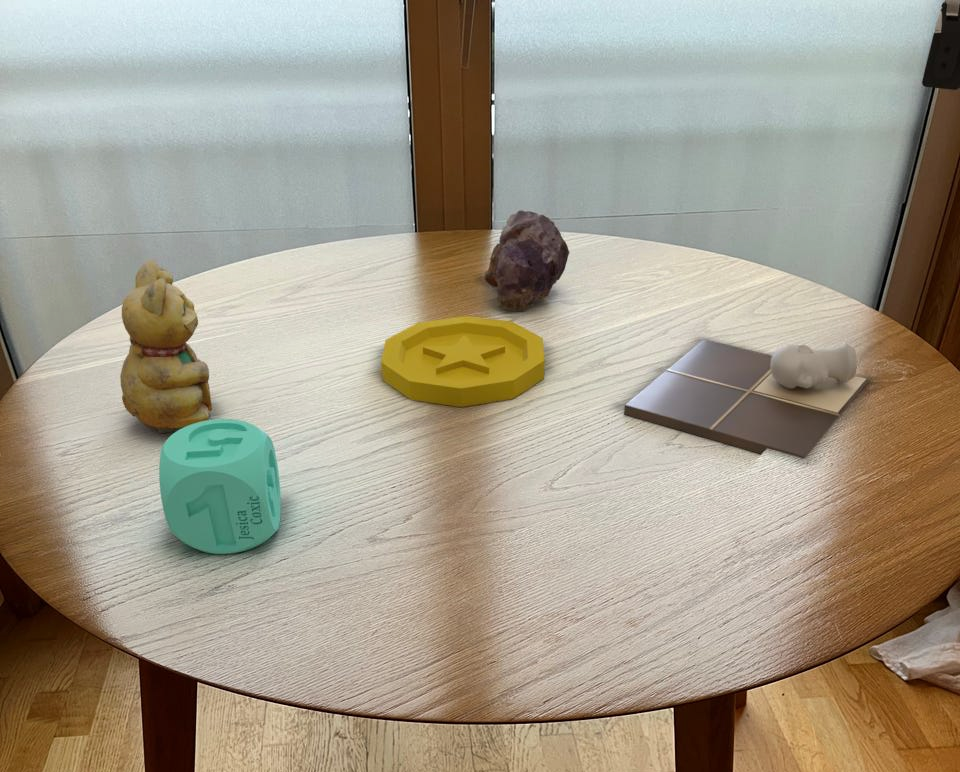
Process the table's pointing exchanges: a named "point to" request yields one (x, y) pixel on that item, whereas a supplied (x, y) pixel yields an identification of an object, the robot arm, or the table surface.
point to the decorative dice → (220, 486)
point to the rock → (526, 260)
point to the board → (742, 401)
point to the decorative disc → (463, 361)
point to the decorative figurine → (162, 355)
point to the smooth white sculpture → (812, 365)
